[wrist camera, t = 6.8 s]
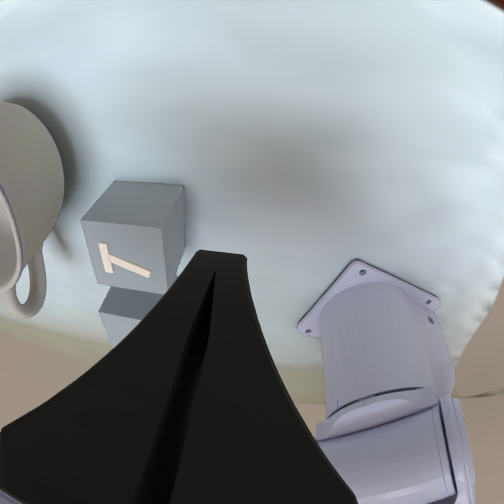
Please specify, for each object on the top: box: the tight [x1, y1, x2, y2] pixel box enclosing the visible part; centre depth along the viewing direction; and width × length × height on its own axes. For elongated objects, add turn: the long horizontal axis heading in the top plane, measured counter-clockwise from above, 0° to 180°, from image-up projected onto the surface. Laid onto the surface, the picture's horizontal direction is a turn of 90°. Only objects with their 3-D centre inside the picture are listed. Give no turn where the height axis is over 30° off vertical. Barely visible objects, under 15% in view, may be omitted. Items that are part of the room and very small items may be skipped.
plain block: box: [99, 276, 178, 348], centre depth 22 cm, size 4×4×4 cm
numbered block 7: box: [81, 181, 186, 294], centre depth 17 cm, size 4×4×5 cm
